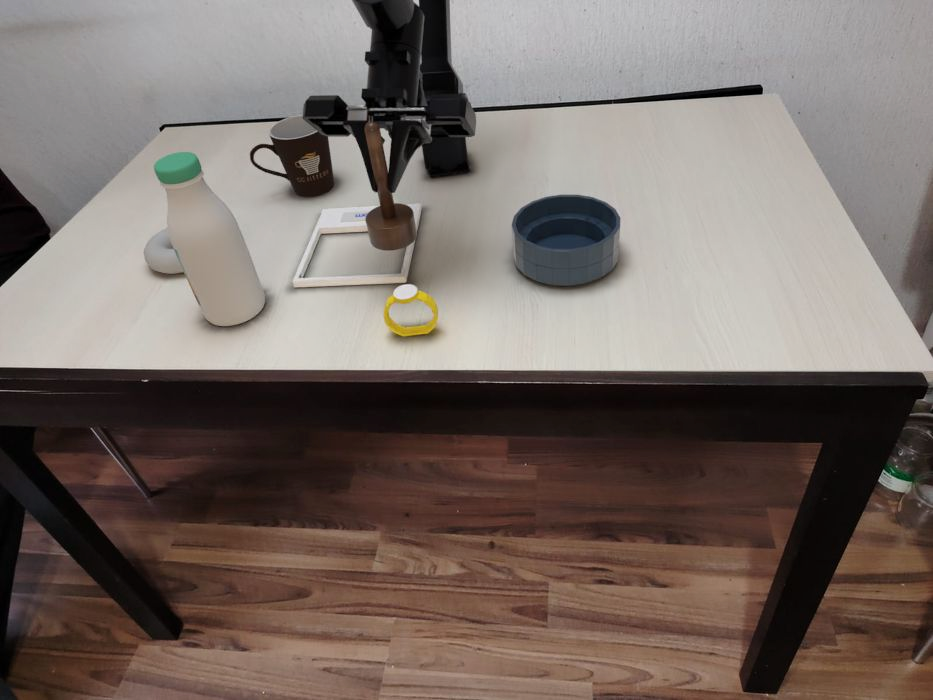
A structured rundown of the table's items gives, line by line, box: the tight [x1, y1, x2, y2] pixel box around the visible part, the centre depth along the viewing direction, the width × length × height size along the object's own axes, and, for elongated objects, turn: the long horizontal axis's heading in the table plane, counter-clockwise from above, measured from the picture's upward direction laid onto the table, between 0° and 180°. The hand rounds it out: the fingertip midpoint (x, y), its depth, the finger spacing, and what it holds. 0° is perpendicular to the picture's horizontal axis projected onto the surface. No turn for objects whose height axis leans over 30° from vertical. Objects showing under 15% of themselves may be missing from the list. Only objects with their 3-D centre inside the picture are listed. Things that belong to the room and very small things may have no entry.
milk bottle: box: [153, 151, 266, 327], centre depth 77 cm, size 8×8×20 cm
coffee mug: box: [249, 114, 335, 198], centre depth 103 cm, size 12×9×10 cm
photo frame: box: [291, 203, 423, 288], centre depth 91 cm, size 15×1×18 cm
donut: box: [143, 227, 184, 275], centre depth 93 cm, size 10×4×10 cm
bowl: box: [511, 194, 621, 287], centre depth 83 cm, size 13×13×6 cm
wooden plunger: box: [365, 121, 418, 252], centre depth 74 cm, size 6×6×14 cm
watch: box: [382, 283, 439, 338], centre depth 75 cm, size 6×3×6 cm, turn 90°
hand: (383, 191), depth 74 cm, fingers closed on wooden plunger
